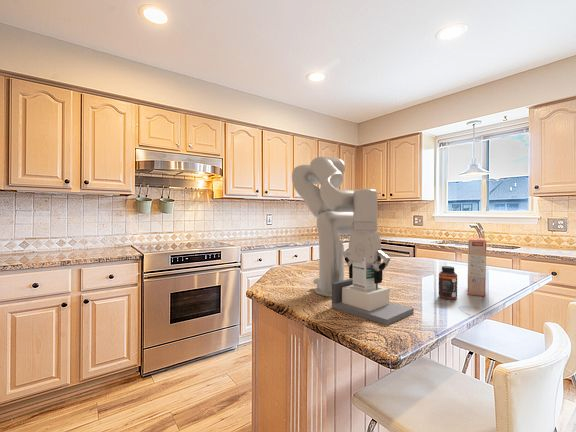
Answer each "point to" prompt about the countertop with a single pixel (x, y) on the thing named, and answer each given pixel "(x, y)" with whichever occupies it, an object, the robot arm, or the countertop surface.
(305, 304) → the countertop surface
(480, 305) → the countertop surface
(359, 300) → the socket block
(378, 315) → the slide base
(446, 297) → the supplement bottle
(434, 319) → the countertop surface
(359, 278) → the syrup box
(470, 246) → the cracker box
